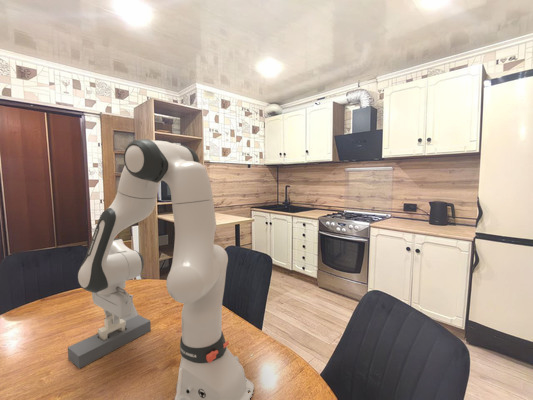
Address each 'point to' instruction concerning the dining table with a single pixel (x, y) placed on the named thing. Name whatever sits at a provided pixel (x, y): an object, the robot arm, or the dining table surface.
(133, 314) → the flask
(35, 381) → the dining table surface
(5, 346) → the dining table surface
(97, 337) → the rail
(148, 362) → the dining table surface
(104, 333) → the clip
